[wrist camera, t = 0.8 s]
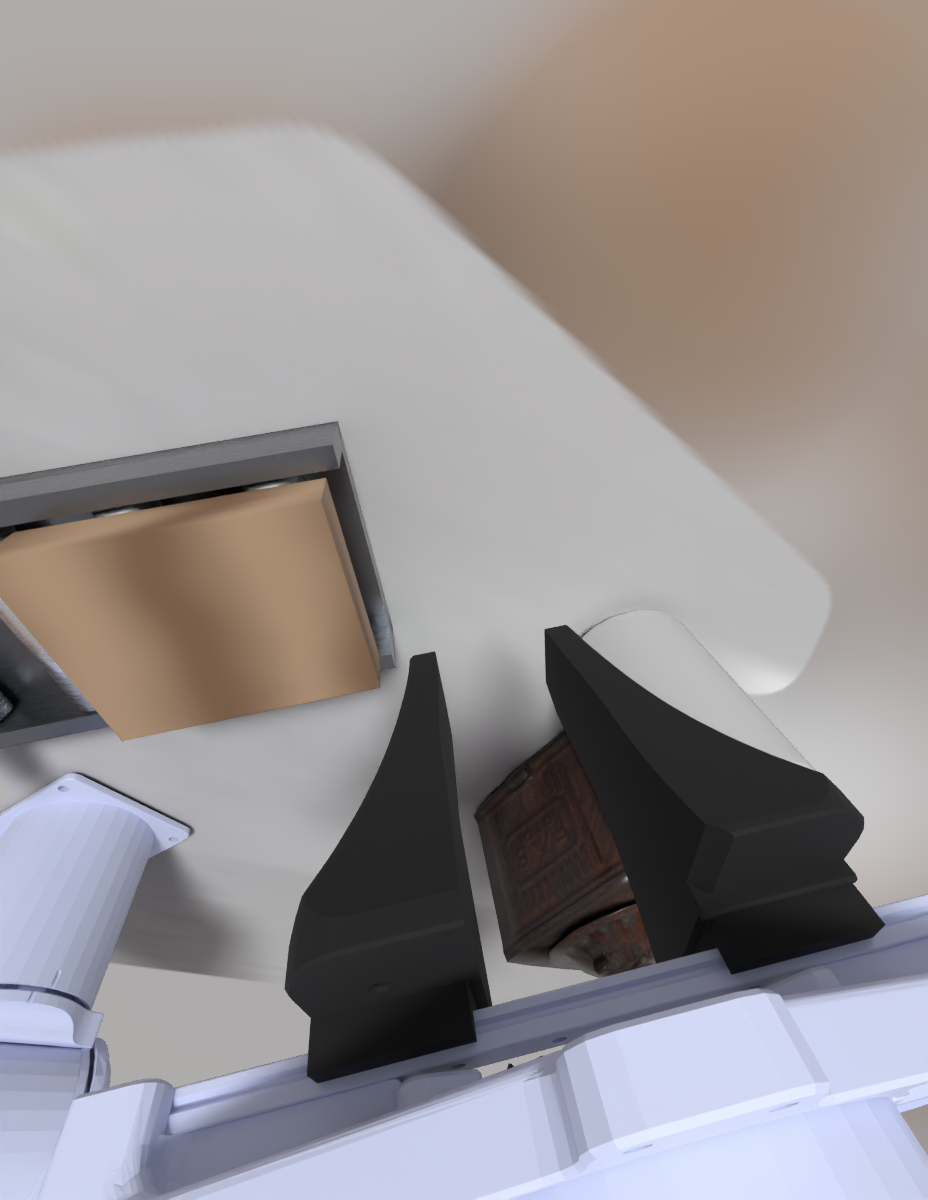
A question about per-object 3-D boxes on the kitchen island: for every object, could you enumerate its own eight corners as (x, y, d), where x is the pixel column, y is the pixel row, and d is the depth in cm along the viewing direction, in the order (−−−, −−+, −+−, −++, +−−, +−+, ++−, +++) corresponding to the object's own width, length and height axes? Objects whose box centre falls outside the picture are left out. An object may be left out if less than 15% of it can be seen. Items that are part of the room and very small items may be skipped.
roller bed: (337, 421, 18) (325, 476, 13) (392, 627, 24) (398, 718, 19) (-237, 517, 16) (-493, 619, 12) (-29, 710, 22) (-141, 833, 17)
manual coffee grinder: (564, 718, 30) (753, 1143, 15) (664, 766, 35) (879, 1120, 20) (421, 845, 35) (459, 1246, 21) (526, 871, 40) (615, 1207, 26)
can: (531, 678, 27) (622, 902, 18) (616, 579, 24) (783, 783, 14) (621, 712, 30) (741, 918, 21) (706, 628, 27) (893, 823, 18)
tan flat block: (325, 477, 16) (321, 500, 14) (379, 654, 20) (380, 687, 19) (13, 532, 15) (-30, 563, 13) (142, 702, 20) (122, 741, 18)
